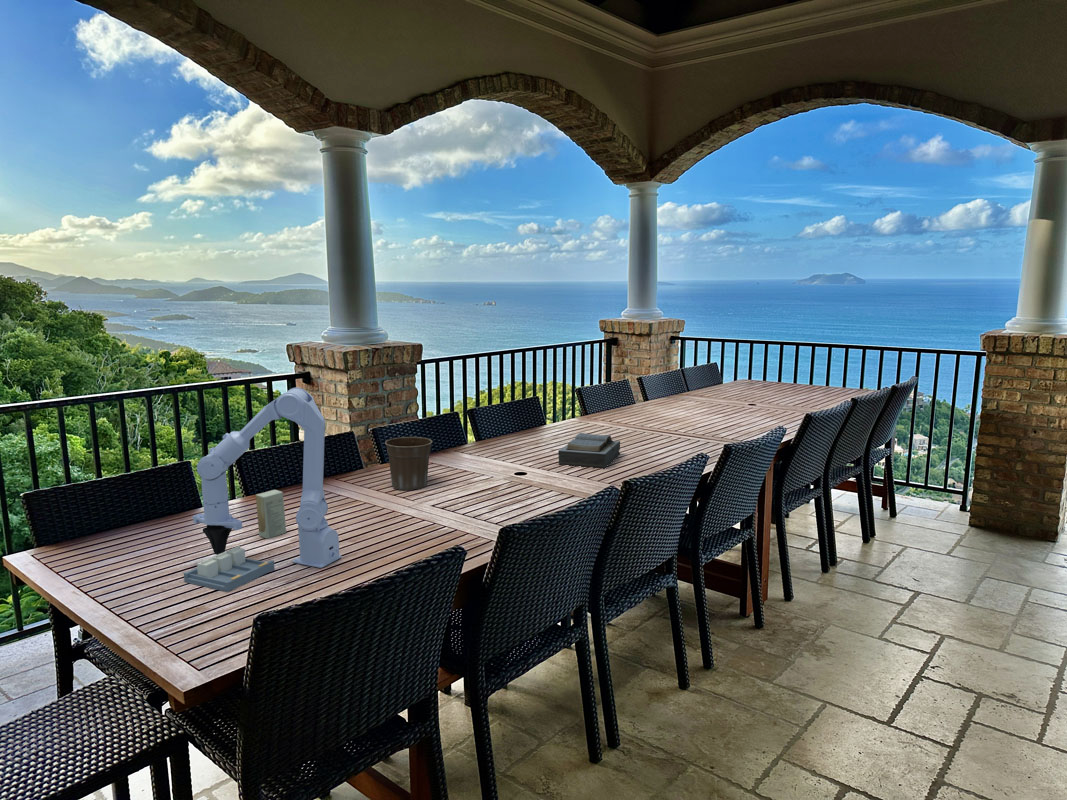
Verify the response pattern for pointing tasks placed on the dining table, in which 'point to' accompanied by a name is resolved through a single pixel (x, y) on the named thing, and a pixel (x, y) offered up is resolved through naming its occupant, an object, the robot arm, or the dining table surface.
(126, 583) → the dining table surface
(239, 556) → the tab
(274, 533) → the skincare box
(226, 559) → the tab
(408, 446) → the plant pot
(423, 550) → the dining table surface
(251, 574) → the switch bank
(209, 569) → the tab
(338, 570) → the dining table surface
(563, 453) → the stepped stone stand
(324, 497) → the robot arm
